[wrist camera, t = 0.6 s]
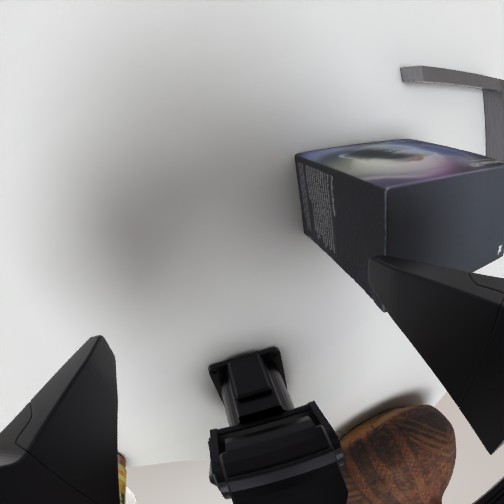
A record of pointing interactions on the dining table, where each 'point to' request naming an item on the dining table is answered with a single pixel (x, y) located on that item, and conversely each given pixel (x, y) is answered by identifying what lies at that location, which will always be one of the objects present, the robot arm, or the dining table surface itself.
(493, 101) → the guide rails
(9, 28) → the dining table surface
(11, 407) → the dining table surface
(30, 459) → the robot arm
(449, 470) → the jug
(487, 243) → the small box
